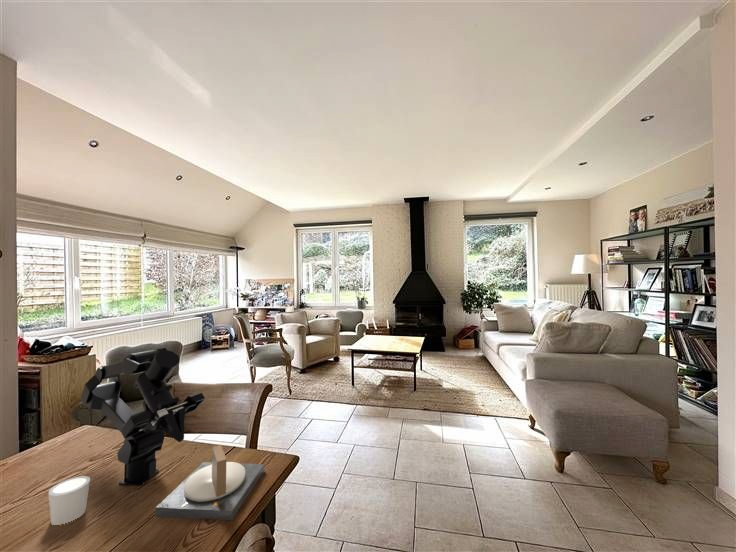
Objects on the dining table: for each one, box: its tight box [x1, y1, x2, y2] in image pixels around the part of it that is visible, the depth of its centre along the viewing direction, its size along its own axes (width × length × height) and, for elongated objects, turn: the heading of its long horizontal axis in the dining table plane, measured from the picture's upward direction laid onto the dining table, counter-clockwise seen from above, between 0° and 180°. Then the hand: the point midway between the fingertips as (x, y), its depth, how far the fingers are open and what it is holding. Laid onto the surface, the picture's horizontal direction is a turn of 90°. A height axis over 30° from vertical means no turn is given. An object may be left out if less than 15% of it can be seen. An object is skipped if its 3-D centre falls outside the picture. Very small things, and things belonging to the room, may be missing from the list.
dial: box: [184, 444, 245, 502], centre depth 77 cm, size 15×14×9 cm
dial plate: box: [154, 461, 265, 521], centre depth 77 cm, size 18×18×2 cm
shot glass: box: [48, 475, 91, 526], centre depth 69 cm, size 7×7×7 cm
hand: (181, 440), depth 76 cm, fingers closed
